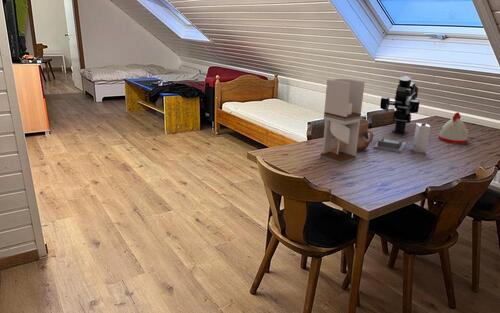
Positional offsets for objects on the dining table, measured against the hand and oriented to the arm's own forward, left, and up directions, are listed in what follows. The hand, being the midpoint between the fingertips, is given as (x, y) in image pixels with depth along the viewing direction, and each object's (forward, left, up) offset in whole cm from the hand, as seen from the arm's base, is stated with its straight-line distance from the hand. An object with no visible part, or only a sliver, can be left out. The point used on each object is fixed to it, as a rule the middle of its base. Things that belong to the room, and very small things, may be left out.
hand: (396, 112), depth 199 cm
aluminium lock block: (+1, +15, -16) cm, 22 cm away
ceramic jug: (+23, -8, -17) cm, 30 cm away
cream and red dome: (-33, +19, -17) cm, 41 cm away
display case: (+42, -5, -17) cm, 46 cm away
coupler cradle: (+5, +2, -16) cm, 17 cm away
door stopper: (+5, -16, -17) cm, 24 cm away
